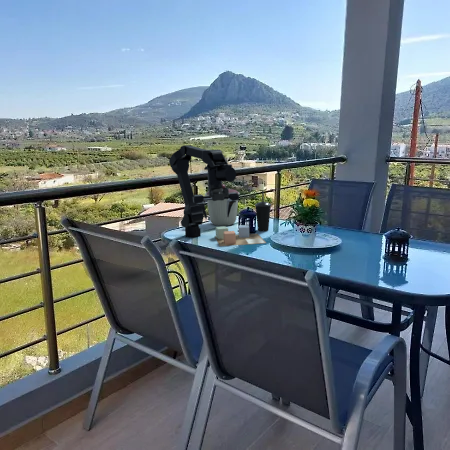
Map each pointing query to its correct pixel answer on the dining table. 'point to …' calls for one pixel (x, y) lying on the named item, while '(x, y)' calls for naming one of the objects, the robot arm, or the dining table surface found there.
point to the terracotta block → (229, 237)
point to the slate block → (243, 231)
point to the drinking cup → (263, 214)
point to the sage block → (220, 232)
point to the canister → (222, 210)
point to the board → (243, 240)
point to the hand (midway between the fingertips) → (216, 218)
